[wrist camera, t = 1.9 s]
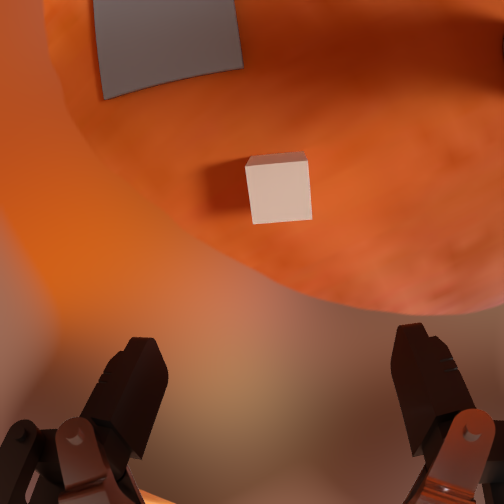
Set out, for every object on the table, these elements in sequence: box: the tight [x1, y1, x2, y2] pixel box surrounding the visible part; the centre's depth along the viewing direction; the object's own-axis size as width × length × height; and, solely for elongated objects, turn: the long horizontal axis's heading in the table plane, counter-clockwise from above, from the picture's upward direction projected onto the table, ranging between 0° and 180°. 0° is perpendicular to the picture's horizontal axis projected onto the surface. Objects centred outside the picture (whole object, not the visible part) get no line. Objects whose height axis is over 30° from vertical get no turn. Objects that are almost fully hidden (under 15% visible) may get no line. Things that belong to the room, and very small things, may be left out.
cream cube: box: [245, 151, 312, 224], centre depth 28 cm, size 5×5×5 cm
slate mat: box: [93, 0, 244, 100], centre depth 22 cm, size 14×18×1 cm
